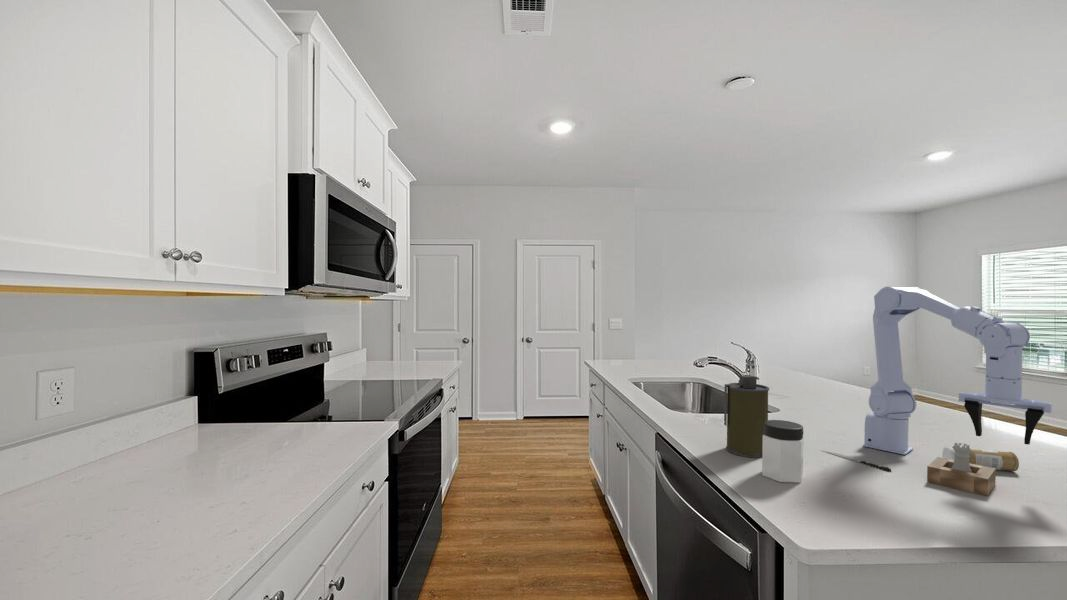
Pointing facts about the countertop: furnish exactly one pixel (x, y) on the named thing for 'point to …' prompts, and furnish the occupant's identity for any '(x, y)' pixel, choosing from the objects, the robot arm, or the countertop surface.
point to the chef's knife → (858, 460)
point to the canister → (745, 416)
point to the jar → (782, 451)
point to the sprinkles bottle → (988, 458)
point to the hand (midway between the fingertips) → (1002, 439)
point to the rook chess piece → (961, 457)
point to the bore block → (962, 476)
